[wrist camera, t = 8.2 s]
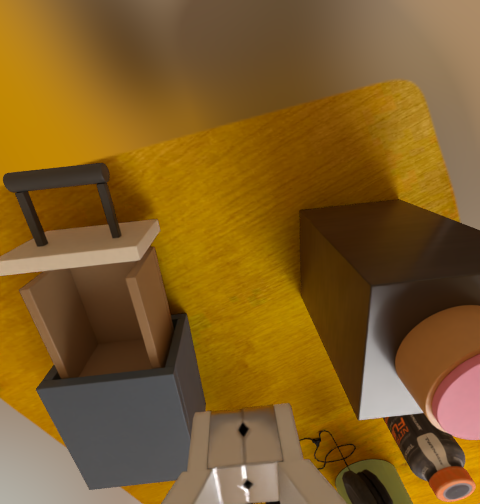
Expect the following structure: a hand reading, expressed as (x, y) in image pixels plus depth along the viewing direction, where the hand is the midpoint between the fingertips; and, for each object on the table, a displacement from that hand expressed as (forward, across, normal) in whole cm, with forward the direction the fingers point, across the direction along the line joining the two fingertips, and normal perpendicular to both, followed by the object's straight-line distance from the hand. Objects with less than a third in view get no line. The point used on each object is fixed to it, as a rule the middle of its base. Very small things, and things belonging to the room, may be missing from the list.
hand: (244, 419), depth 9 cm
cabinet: (+21, +12, +18) cm, 30 cm away
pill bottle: (+21, -20, +27) cm, 40 cm away
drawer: (+20, +12, +3) cm, 23 cm away
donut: (+6, -12, +4) cm, 14 cm away
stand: (+21, -12, +4) cm, 24 cm away
